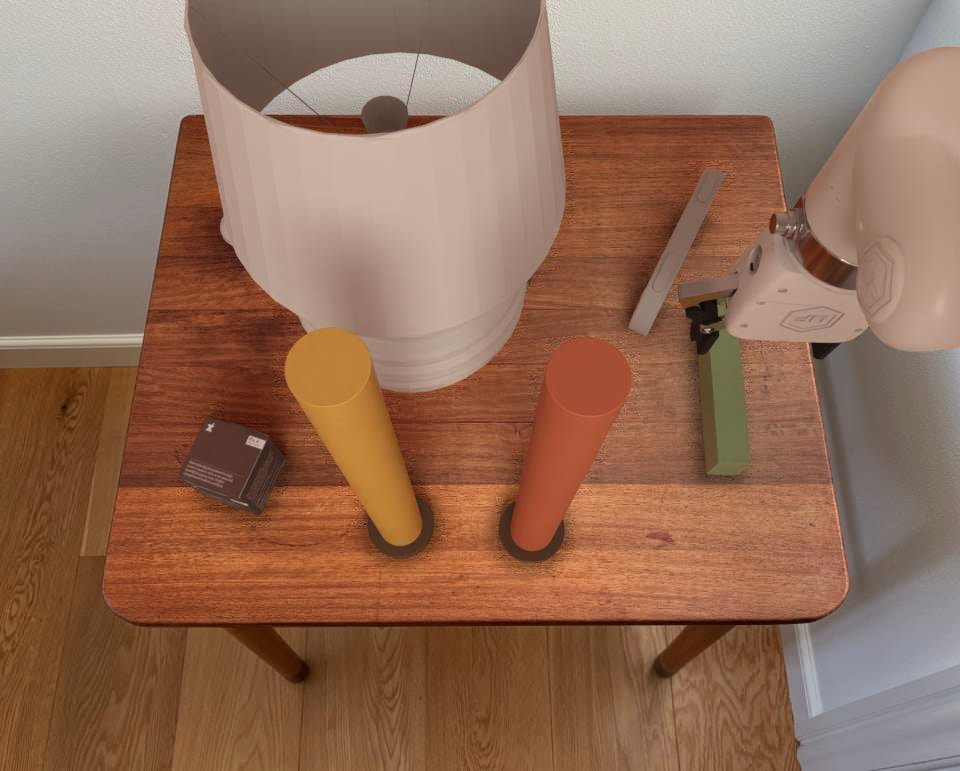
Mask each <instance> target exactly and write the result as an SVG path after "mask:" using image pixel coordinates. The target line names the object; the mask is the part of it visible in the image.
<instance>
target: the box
mask: <svg viewBox="0 0 960 771" xmlns="http://www.w3.org/2000/svg"><path fill="white" fill-rule="evenodd" d="M286 460H287V457H285V455H284V454H283V453H282V451H281V450H280V449H279V447H278V446H277V445H276V444H275V442H274V441H273V439H271V437H270V435H268V434H265V433H262V432H261V431H260V432H259V431H256V430H254V429H251V428H248V427H245V426H242V425H241V424H238V423H234V422H231V421H227V420H224V419H222V418H219V417H216V416H213V415H210V414H209V415H206V416H205V419H204V421H203V423H202V424H201V427H200V429H199V430H198V433H197V435H196V437H195V439H194V441H193V443H192V444H191V447H190V449H189V451H188V453H187V455H186V456H185V459H184V461H183V463H182V464H181V467H180V469H179V470H178V472H177V475H176V477H177V478H179V479H181V480H182V481H183V482H185V483H186V484H187V485H188V486H190V487H191V488H192V489H194V490H196V491H197V492H198V493H200V494H201V495H203V496H204V497H206V498H207V499H211V500H214V501H216V502H219V503H222V504H224V505H227V506H229V507H232V508H235V509H238V510H242V511H244V512H246V513H249V514H252V515H256V516H258V517H260V516H261V515H262V514H263V512H264V510H265V508H266V506H267V503H268V501H269V498H270V496H271V494H272V491H273V489H274V487H275V485H276V482H277V480H278V478H279V476H280V474H281V471H282V470H283V468H284V465H285V463H286Z"/></svg>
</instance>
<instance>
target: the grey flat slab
mask: <svg viewBox="0 0 960 771" xmlns="http://www.w3.org/2000/svg"><path fill="white" fill-rule="evenodd" d="M725 177H726V174H725V173H724V172H722V171H719V170H717V169H714V168H712V167H708V166H707V167H705V169H704V170H703V172H702V174H701V176H700V178H699V180H698V182H697V183H696V185H695V187H694V190H693V191H692V193H691V195H690V196H689V199H688V201H687V204H686V206H685V207H684V209H683V212H682V214H681V216H680V218H679V220H678V222H677V224H676V226H675V227H674V230H673V231H672V233H671V234H670V236H669V240H668V242H667V244H666V246H665V247H664V248H663V250H662V252H661V256H660V257H659V260H658V262H657V264H656V266H655V268H654V269H653V270H652V272H651V273H650V275H649V276H648V277H647V278H648V279H647V280H646V283H645V285H644V287H643V291H642V292H641V295H640V296H639V298H638V299H637V302H636V303H635V306H634V308H633V310H634V311H633V313H632V316H631V318H630V321H629V323H628V325H627V327H628V329H629V330H631V331H633V332H635V333H637V334H639V335H641V336H644V337H646V336H648V335H649V333H650V331H651V329H652V327H653V324H654V323H655V321H656V319H657V317H658V314H659V312H660V310H661V309H662V306H663V304H664V302H665V301H666V298H667V296H668V294H669V292H670V290H671V287H672V286H673V283H674V282H675V279H676V278H677V275H678V273H679V271H680V270H681V267H682V265H683V263H684V261H685V259H686V257H687V255H688V253H689V251H690V249H691V247H692V244H693V243H694V241H695V239H696V236H697V234H698V233H699V230H700V228H701V226H702V224H703V222H704V221H705V219H706V216H707V214H708V212H709V210H710V208H711V206H712V204H713V202H714V199H715V198H716V196H717V193H718V191H719V189H720V187H721V185H722V183H723V181H724V179H725Z"/></svg>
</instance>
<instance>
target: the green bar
mask: <svg viewBox="0 0 960 771" xmlns="http://www.w3.org/2000/svg"><path fill="white" fill-rule="evenodd" d="M717 306H718V317H719V316H722V315H725V313H726V305H720V304H718V305H717ZM740 339H741V338H737V337H734V336H732V335H730V334H729V333H728V332H727V331H726V328H725V329H722V330H719V338H718V339H717V340H716V342H715V343H714V344H713V346H712V347H711V348H710V350H709V351H708V353H705V355H698V354H697V363H698V367H697V368H698V379H699V392H700V404H701V405H700V406H701V408H700V409H701V422H702V437H703V450H704V462H705V475H716V476H717V475H718V476H720V475H721V476H739V475H740V474H741V473H742V472H744V471H745V470H746V469H747V468H749V467H750V466H751V465H752V456H751V455H752V454H751V445H750V435H749V424H748V414H747V413H748V412H747V402H746V393H745V382H744V381H745V380H744V370H743V361H742V348H741V341H740Z"/></svg>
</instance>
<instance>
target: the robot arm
mask: <svg viewBox="0 0 960 771" xmlns="http://www.w3.org/2000/svg"><path fill="white" fill-rule="evenodd" d="M677 294H678V296H677V297H678V303H679V305H680V306H681V308H682V309H683V310H684V313H685V314H684V315H685V317H686V318H688V319H689V320H690V321H691V323H690V327H689V336H690V341H691V342H695V343H696V344H695V346H696V354H697V356H698V355H705V353H708V351H709V350H710V348H711V347H712V346H713V344H714V343H715V342H716V340H717V339H718V338H719V330H722V329H725V328H726V331H727V332H728V333H729V334H730V335H732V336H734V337H737V338H740V339H741V340H750V341H766V342H791V343H810V346H811V353H812V358H814V359H815V360H822V361H823V360H824V359H825V358H827V357H828V355H830V353H832V352H833V351H834V350H835V349H837V347H839V346H841V344H842V343H844V342H849V341H852V340H854V339H856V338H858V337H860V336H861V334H863V333H864V332H865V331H866V330H867V329H870V330H871V332H872V334H873V335H874V336H875V337H876V338H877V339H878V340H879V341H880V342H882V343H883V344H884V345H886V346H887V347H890V348H891V349H895V350H897V351H903V352H912V353H928V352H936V351H937V352H938V351H944V350H945V351H946V350H954V349H960V46H942V47H939V46H938V47H934V48H930V49H926V50H923V51H920V52H918V53H915V54H913V55H911V56H909V57H908V58H906V59H904V60H903V61H902V62H900V63H899V64H897V65H896V66H895V67H893V68H892V70H891V71H890V72H889V73H887V75H886V76H885V78H884V79H882V81H881V83H880V84H879V85H878V86H877V88H876V90H875V91H874V92H873V93H872V95H871V96H870V98H869V99H868V101H867V102H866V104H865V105H864V106H863V107H862V109H861V111H860V112H859V113H858V115H857V117H856V118H855V120H854V121H853V123H852V124H851V126H850V127H849V128H848V130H847V131H846V133H845V134H844V136H843V137H842V138H841V140H840V141H839V143H838V144H837V146H836V147H835V148H834V150H833V151H832V153H831V154H830V156H829V157H828V158H827V160H826V162H825V163H824V164H823V165H822V167H821V169H820V170H819V171H818V173H817V174H816V176H815V177H814V179H813V180H812V182H811V183H810V185H809V186H808V187H807V189H806V191H805V192H804V193H803V194H802V195H801V196H799V198H798V200H797V202H796V203H795V204H794V206H793V207H792V208H789V210H785V211H784V212H773V213H772V214H771V216H770V218H769V223H768V225H767V226H766V228H764V229H763V230H762V231H761V232H760V233H759V234H758V235H757V236H756V237H754V239H753V240H751V242H750V243H749V244H748V246H747V247H746V248H745V249H744V250H743V252H742V253H741V254H740V255H739V257H738V258H737V259H736V260H735V262H734V263H733V264H732V266H731V268H730V269H729V270H728V272H727V274H724V275H719V276H715V277H708V278H704V279H698V280H692V281H686V282H681V283H679V284H678V285H677ZM724 303H725V306H726V313H725V315H722V316H719V317H718V306H717V305H721V304H724Z"/></svg>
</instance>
